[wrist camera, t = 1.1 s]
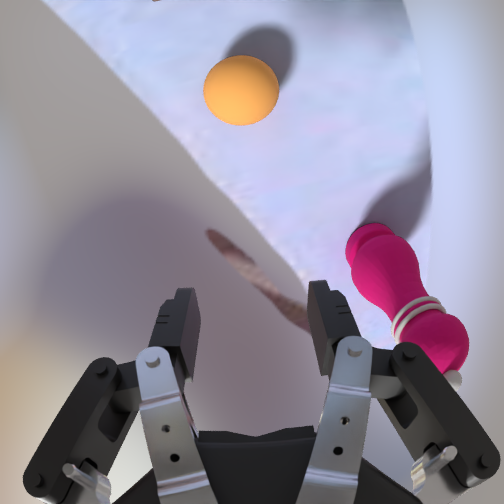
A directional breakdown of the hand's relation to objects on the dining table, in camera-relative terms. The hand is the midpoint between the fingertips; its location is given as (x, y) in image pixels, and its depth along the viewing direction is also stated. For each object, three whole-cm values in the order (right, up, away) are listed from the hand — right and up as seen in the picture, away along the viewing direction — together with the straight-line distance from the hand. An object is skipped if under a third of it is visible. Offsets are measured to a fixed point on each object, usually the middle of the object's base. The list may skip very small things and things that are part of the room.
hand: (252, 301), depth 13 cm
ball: (-1, +15, +8) cm, 17 cm away
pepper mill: (+13, +3, +19) cm, 24 cm away
